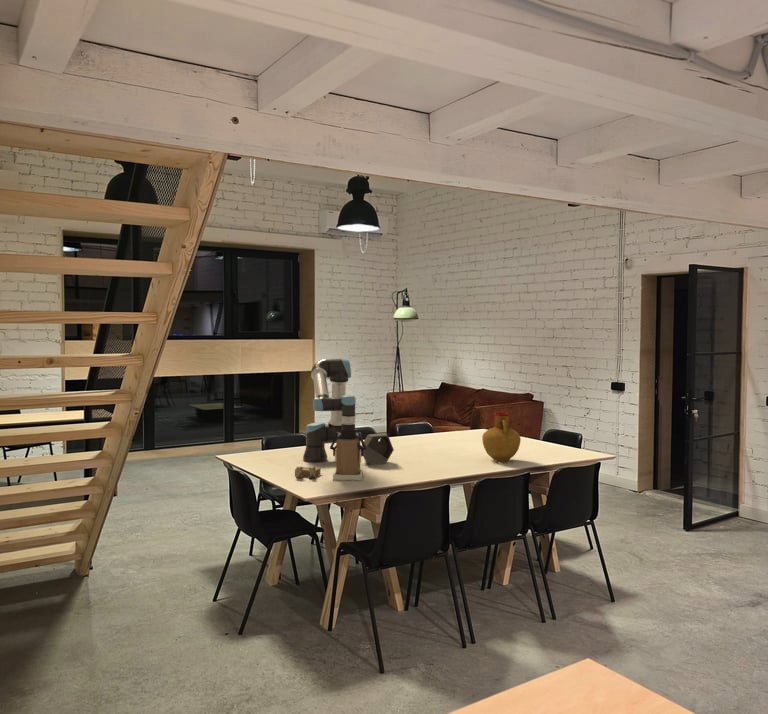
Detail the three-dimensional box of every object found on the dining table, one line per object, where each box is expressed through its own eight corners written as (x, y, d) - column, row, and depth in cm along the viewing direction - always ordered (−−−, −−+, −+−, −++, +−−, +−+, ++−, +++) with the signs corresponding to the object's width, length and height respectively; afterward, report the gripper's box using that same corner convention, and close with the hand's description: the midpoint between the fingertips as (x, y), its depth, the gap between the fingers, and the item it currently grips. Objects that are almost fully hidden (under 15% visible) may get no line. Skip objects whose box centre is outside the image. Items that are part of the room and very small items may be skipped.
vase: (524, 464, 408) (525, 415, 407) (486, 464, 407) (487, 415, 405) (514, 457, 432) (515, 411, 431) (478, 457, 430) (479, 411, 429)
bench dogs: (296, 477, 366) (296, 466, 366) (315, 477, 366) (315, 466, 365) (295, 478, 362) (295, 467, 362) (314, 479, 362) (315, 468, 362)
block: (346, 472, 373) (346, 436, 373) (360, 474, 368) (361, 438, 367) (335, 475, 365) (335, 439, 364) (349, 477, 360) (350, 440, 359)
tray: (335, 474, 374) (335, 469, 374) (362, 474, 374) (362, 469, 373) (332, 480, 359) (332, 474, 359) (360, 480, 358) (360, 475, 358)
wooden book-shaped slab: (301, 473, 377) (301, 466, 377) (320, 475, 374) (320, 468, 374) (295, 476, 370) (295, 469, 370) (314, 478, 366) (314, 470, 366)
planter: (359, 457, 399) (377, 428, 403) (355, 455, 406) (372, 426, 410) (381, 471, 405) (398, 442, 409) (376, 469, 412) (393, 440, 416)
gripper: (325, 424, 362) (324, 462, 363) (370, 424, 361) (370, 463, 362) (326, 422, 369) (326, 460, 370) (371, 423, 368) (371, 461, 369)
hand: (348, 462), depth 366 cm, fingers closed on block, 13 cm apart
